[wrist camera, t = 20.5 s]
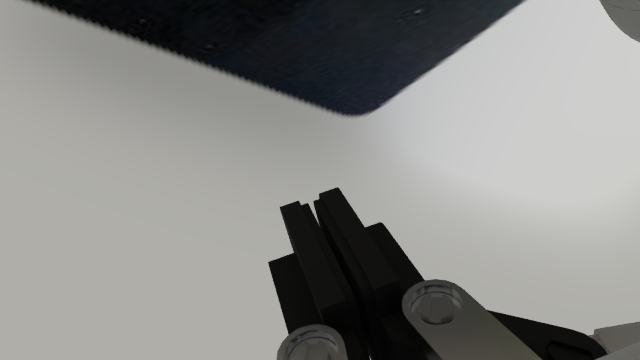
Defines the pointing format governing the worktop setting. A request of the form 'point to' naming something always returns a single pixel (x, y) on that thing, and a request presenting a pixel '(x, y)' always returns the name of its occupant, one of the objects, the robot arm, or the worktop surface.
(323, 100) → the worktop surface
